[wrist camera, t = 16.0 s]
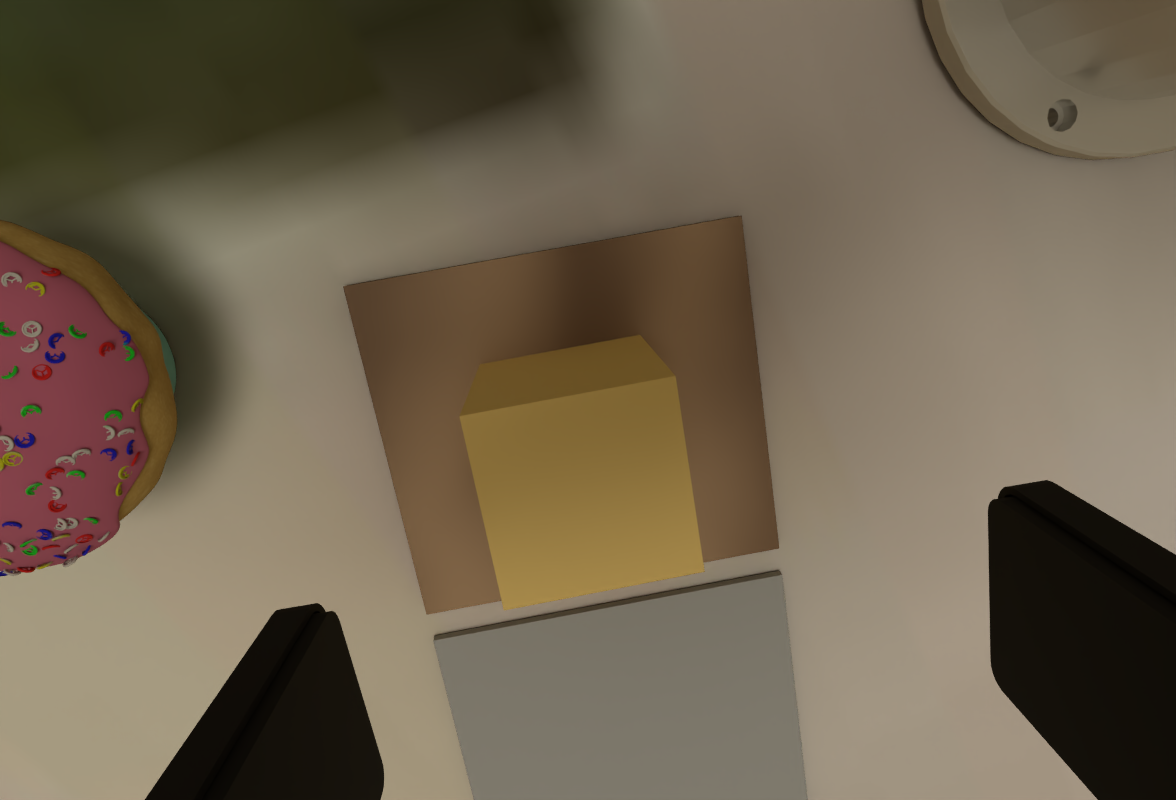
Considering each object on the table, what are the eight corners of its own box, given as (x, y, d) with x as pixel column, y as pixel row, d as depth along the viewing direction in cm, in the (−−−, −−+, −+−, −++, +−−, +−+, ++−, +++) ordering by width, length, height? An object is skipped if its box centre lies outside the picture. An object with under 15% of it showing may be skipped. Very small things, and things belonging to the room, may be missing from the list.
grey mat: (779, 570, 25) (782, 574, 25) (808, 828, 28) (811, 834, 28) (434, 635, 25) (433, 640, 24) (498, 889, 28) (498, 896, 27)
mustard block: (639, 334, 22) (675, 375, 17) (663, 484, 24) (704, 572, 18) (479, 364, 22) (459, 416, 17) (512, 513, 24) (503, 610, 18)
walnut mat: (738, 215, 22) (741, 215, 22) (776, 544, 25) (779, 548, 25) (345, 285, 22) (343, 286, 21) (427, 610, 25) (426, 614, 24)
